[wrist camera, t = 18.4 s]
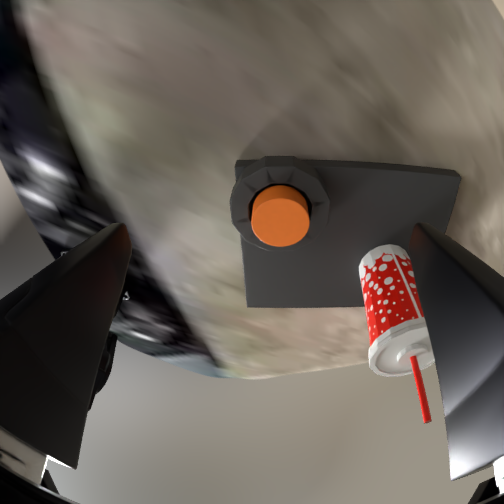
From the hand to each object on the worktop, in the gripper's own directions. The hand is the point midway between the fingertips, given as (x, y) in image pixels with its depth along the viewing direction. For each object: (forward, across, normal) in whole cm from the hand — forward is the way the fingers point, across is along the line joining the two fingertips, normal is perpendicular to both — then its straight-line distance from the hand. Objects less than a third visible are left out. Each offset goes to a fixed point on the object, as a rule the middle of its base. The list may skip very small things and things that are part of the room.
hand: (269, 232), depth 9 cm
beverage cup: (+12, -9, +12) cm, 19 cm away
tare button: (+10, 0, +5) cm, 12 cm away
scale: (+13, -6, +10) cm, 17 cm away
